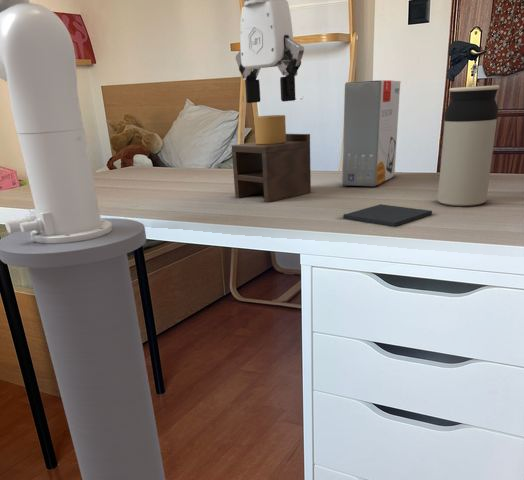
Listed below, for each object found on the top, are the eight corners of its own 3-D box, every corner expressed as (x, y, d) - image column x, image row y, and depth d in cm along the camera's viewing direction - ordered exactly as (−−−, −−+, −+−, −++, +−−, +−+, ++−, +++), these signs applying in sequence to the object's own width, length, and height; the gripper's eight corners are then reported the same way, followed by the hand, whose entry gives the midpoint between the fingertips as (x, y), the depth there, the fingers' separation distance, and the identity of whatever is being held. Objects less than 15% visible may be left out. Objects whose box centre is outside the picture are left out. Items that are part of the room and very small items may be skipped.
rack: (268, 202, 101) (265, 139, 96) (235, 197, 108) (230, 138, 103) (310, 192, 108) (310, 133, 103) (277, 188, 115) (275, 133, 110)
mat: (395, 226, 78) (395, 222, 78) (343, 218, 85) (343, 214, 85) (431, 214, 84) (432, 210, 84) (380, 207, 91) (380, 204, 91)
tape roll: (270, 144, 100) (268, 116, 98) (249, 144, 104) (247, 117, 102) (292, 141, 104) (291, 114, 101) (271, 141, 108) (270, 114, 105)
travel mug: (480, 208, 86) (495, 85, 79) (431, 205, 90) (441, 88, 83) (490, 199, 92) (505, 84, 85) (444, 197, 96) (454, 87, 89)
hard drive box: (376, 187, 109) (380, 80, 101) (341, 186, 113) (342, 82, 104) (395, 176, 121) (401, 79, 113) (363, 175, 125) (366, 81, 116)
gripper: (218, 2, 97) (226, 104, 104) (283, -15, 85) (288, 101, 93) (248, 3, 101) (255, 101, 109) (315, -13, 89) (317, 99, 97)
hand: (270, 101), depth 101 cm, fingers open, 9 cm apart
